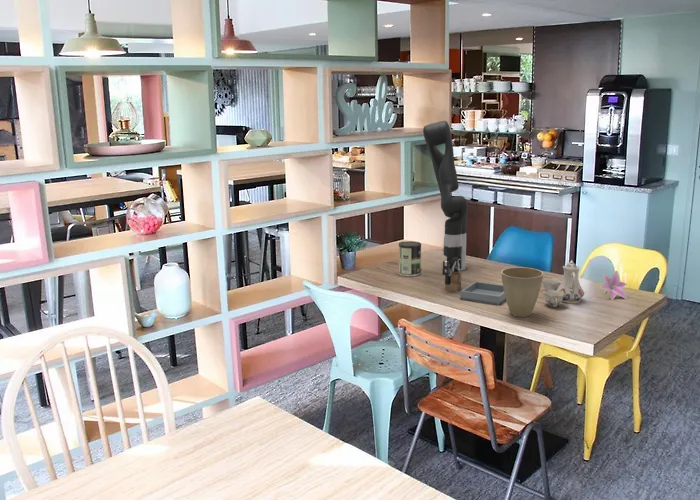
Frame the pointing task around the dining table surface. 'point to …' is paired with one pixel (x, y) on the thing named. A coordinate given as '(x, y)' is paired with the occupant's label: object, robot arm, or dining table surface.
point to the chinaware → (563, 287)
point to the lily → (614, 285)
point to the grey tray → (483, 293)
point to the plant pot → (521, 289)
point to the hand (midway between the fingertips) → (451, 282)
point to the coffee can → (409, 258)
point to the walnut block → (454, 282)
